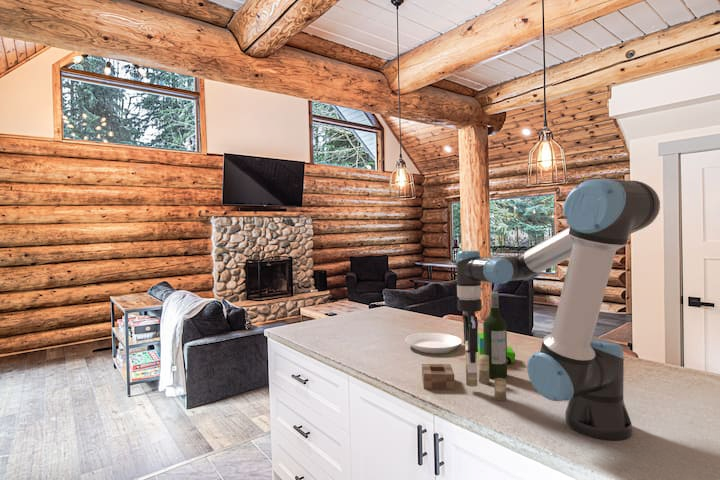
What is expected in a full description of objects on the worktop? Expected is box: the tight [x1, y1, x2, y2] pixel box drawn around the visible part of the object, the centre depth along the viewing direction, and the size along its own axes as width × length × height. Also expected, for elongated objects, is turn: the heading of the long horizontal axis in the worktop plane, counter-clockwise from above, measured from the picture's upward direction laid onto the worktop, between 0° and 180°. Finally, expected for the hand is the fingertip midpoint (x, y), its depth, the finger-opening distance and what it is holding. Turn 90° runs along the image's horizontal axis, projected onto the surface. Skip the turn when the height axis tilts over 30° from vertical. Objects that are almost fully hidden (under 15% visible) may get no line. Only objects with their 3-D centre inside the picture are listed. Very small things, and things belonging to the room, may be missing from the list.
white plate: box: [405, 332, 463, 354], centre depth 180 cm, size 25×25×4 cm
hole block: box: [421, 363, 456, 390], centre depth 137 cm, size 10×10×5 cm
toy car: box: [477, 332, 516, 366], centre depth 159 cm, size 10×13×10 cm
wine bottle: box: [482, 291, 508, 380], centre depth 143 cm, size 8×8×30 cm
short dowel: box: [494, 378, 507, 402], centre depth 124 cm, size 3×3×6 cm
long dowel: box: [464, 341, 478, 388], centre depth 130 cm, size 3×3×14 cm
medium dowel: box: [478, 355, 490, 385], centre depth 138 cm, size 3×3×9 cm
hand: (471, 370), depth 130 cm, fingers closed on long dowel, 3 cm apart
